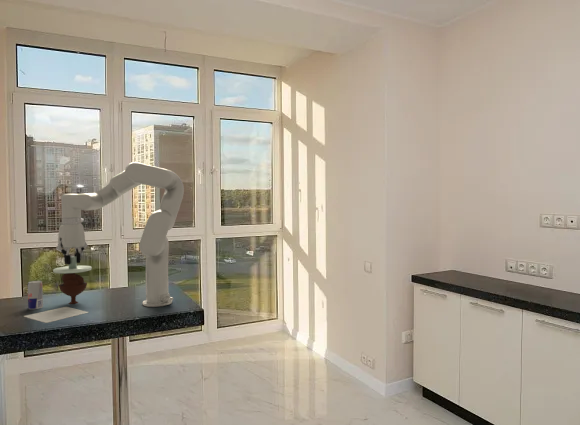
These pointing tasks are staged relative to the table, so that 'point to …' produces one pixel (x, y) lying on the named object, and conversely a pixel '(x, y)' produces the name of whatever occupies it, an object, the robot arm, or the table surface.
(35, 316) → the mat
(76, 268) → the lid
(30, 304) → the energy drink
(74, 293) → the ice cream bowl
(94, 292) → the table surface
